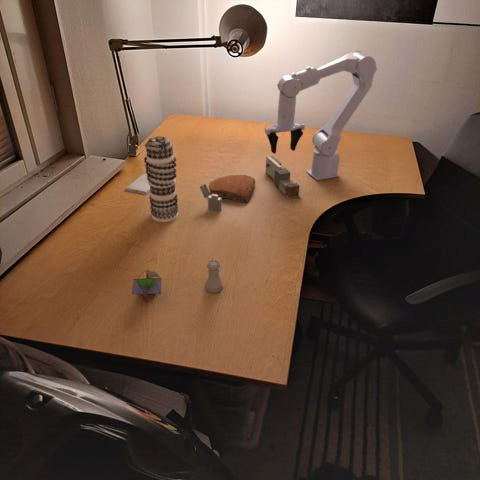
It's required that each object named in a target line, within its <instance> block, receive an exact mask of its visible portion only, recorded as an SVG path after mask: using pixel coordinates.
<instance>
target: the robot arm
mask: <svg viewBox="0 0 480 480" xmlns="http://www.w3.org/2000/svg"><path fill="white" fill-rule="evenodd" d="M377 70H378V68H377V63H376V59H375V58H373V56H369V55H367V54H365V53H363V52H362V51H361V50H360V51H359V50H354V51H351V52H348V53H346V54H344V55H343V56H342V57H339V58H337V59H335V60H333V61H330V62H328V63H326V64H323V65H322V66H320V67H318V68H316V67H314V66H311V67H310V66H309V65H308V66H305V69H303V70H301V71H298V72H292V73H291V75H288V74H287V75H283V76H282V77H281V79H279V81H278V83H277V85H276V86H277V89H278V91H279V95H278V108H277V121H276V124H275V125H274V124H273V125H271V126H267V127H265V128H264V133H265V134H266V137H267V139H268V141H269V144H270V151H271V153H272V154H274V155H275V154H276V152H277V145H278V140H279V138H280V137H279V136H278V133H284V132H290V144H289V145H290V146H289V147H290V150H292V151H293V152H295V151H296V149H297V146H298V143H299V141H300V139H301V138H302V137H303V134H304V130H305V127H306V125H305V123H303V122H295V114H296V107H297V106H296V104H297V103H296V102H297V96H298V95H299V93H300V92H301V91H305V90H307V89H309V88H311V87H314V86H316V85H318V84H319V82H320V81H321V79H323V78H328V77H330V76H332V75H335V74H338V73H341V72H347V73H350V74H351V75H352V80H353V85H352V86H351V88H350V89H349V91H348V93H347V94H346V96H345V97H344V99H343V100H342V101H341V103H340V105H339V106H338V108H337V110H336V111H335V112H334V114H333V115H332V117H331V119H330V120H329V121H328V123H327V124H325V125H322V126H321V127H320V129H319V130H318V131H316V132H315V133H314V134H313V136H312V138H311V140H312V144H313V145H314V148H313V154H312V160H311V161H312V162H311V168H310V169H307V170H306V173H308V174H309V175H310V176H311V177H312V178H314V179H315V180H316V181H320V180H326V179H327V180H328V179H331V178H332V179H333V178H337V177H339V174H338V172H339V167H340V154H339V152H338V151H337V150H338V146H339V143H340V141H341V134H342V133H341V132H342V131H343V130H344V128H345V126H346V125H347V124H348V122H349V121H350V119H351V118H352V117H353V115H354V113H355V112H356V111H357V109H358V107H359V105H360V104H361V103H362V101H363V100H364V98H365V97H366V95H367V94H368V92H369V91H370V90H371V88H372V86H373V81H374V76H375V74H376V72H377Z"/></svg>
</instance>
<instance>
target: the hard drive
mask: <svg viewBox="0 0 480 480" xmlns="http://www.w3.org/2000/svg"><path fill="white" fill-rule="evenodd" d="M147 178H148V177H147V173H146V172H144V173H142V174H141V175H139V177H137V178H136V179H135V180H134V181H132V182H131V183H130V184H129V185H128V186H126V187H125V191H128V192H132V193H133V192H135V193H139V194H142V195H143V194H144V195H148V194H150V185H149V184H148V180H147Z"/></svg>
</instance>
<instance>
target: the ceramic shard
mask: <svg viewBox="0 0 480 480" xmlns="http://www.w3.org/2000/svg"><path fill="white" fill-rule="evenodd" d="M255 185H256V179H255V178H254V177H252V176H249V175H246V174H235V175H234V174H233V175H226V176H222V177H219V178H216V179H214V180H212V181H210V182H209V184H208V191H209V193H211V195H212V194H216V195H218V197H220V198H221V199H231V200H233V201H238V202H241V203H245V204H246V203H248V201H249V199H250V197H251V195H252V192H253V189H254V187H255Z"/></svg>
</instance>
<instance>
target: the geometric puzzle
mask: <svg viewBox="0 0 480 480" xmlns="http://www.w3.org/2000/svg"><path fill="white" fill-rule="evenodd" d="M145 273H146V275H145V277H144V278H140V276H142V275H143V273H141V274H139V275H137V277H138V276H139V277H138V278H133V279H132V280H133V281H132V291H131V292H132V293H131V295H132V296H134V295H140V296H141V297H142V298H143V299H144V302H145V303H148V295H157V296H155V297H154V296H153V299H155V298H156V297H158V296H159V295H160V294H161V295H162V293H161V292H162V277H161V276H160V275H159V274H158V273H157V272H156V271H153V270H148V269H146V271H145ZM144 296H145V297H144ZM143 299H141V298H140V300H141V301H142V300H143Z"/></svg>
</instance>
